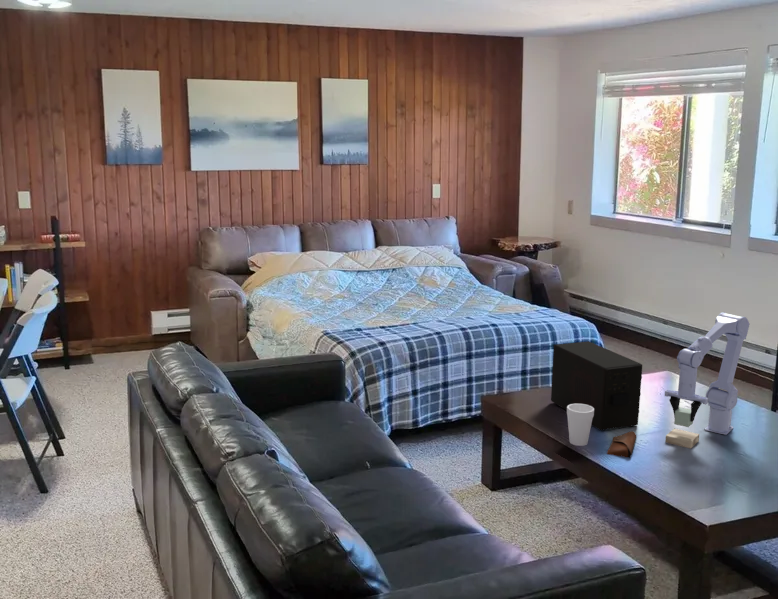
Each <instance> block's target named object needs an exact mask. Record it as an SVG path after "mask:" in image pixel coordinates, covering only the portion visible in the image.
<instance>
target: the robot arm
mask: <svg viewBox="0 0 778 599" xmlns="http://www.w3.org/2000/svg"><path fill="white" fill-rule="evenodd" d="M714 321H715V322H714V325H713V326H711V328H710V329H709V331H708V332H707V333H706V334H705V335H704V336H699V337H697V339H696V340H694V341H693V342H692V344H690V345H689V346H688V347H687V348H683V349H681V350H680V351H679V352H678V354H677V356H676V361H677V363H678V369H679V376H678V386H677V388H678V389H677V390H669V389H666V390H664V397H670V398H669V403H670V405H671V407H672V412H673V417H674V419H675V411H676V410H677V409H678V408H679V407H680V403H681V400H684V401H689V402H691V403H690V409H691V417H690V421H691V422H693V423H694V421H695V417H696V415H697V412H698V411H699V408H700V407H701V406H702V404H703V405H707V404H708V407H709V414H708V423H707V426H706V427H705V428H704V431H706V432H710V433H711V432H712V433H716V434H721V435H725V436H726V435H728V434H729V433H730V432H731V431H732V430H733V428H734V426H732V425H731V424H732V414H733V411H732V410H733V409H734V408H736V406H737V403H738V393H739V391H738V389H737V388H736V386H735V385H734V384H733V382H734V379H735V374H736V370H737V367H738V362H739V359H740V354H741V351H742V347H743V344H744V340H746V339H747V336H748V333H749V329H750V321H749V320H748V317H747V316H740V315H736V314H731V313H726V312H725V311H723V312H720V313H719V314H718V315H717V316H716V317H715V320H714ZM723 335H724V336H725V337H726V339H727V341H726V344H725V350H724V353H723V357H722V360H721V365H720V369H719V373H718V376H717V380H715V381H712V382H711V383H710V384H709V386H708V389H707V391H706V392H705V396H701V395H699V394H696V386H697V377H698V376H697V374H698V367H700V365H701V364H702V362H703V360H704V357H705V356H706V354H708V353H709V352H710V351H711V350H712V349H713V343H715V342H716V341H717V340H718V339H720V338H721V337H722V336H723Z"/></svg>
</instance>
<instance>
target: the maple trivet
mask: <svg viewBox="0 0 778 599" xmlns="http://www.w3.org/2000/svg"><path fill="white" fill-rule="evenodd" d="M699 441H700V433H697V432H692V431H687V430H685V429H678V428H673V429H672V430H671V431H669V432H668V433H667V434H666V435H665V440H664V442H665V443H666V444H671V445H675V446H679V447H682V448H687V449H692V448H693V447H694V446H696V444H698V442H699Z"/></svg>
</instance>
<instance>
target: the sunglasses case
mask: <svg viewBox="0 0 778 599" xmlns="http://www.w3.org/2000/svg"><path fill="white" fill-rule="evenodd" d="M636 441H637V434H636V433H635V431H633V430H632V431H627V432H625V433H623V434H619V435H615V436H613V437H612V441H611V443H610V445H609V446H608V447H609V448H608V450H607V451H606V455H610V456H616V457H623V458H627V459H630V458H631V457H632V454H633V453H634V452H633V450H634V448H635V444H636Z"/></svg>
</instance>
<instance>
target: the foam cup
mask: <svg viewBox="0 0 778 599" xmlns="http://www.w3.org/2000/svg"><path fill="white" fill-rule="evenodd" d="M566 415H567V426H568V427H567V428H568V438H569V439H568V440H569V443H570V444H571V445H573V446H577V447H579V446H580V447H583V446H587V445H588V443H589V438H590V433H591V427H592V425H591V424H592V419H593V417H594V408H593V407H592V406H589V405H586V404H570V405H568V406H567V410H566Z"/></svg>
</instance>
